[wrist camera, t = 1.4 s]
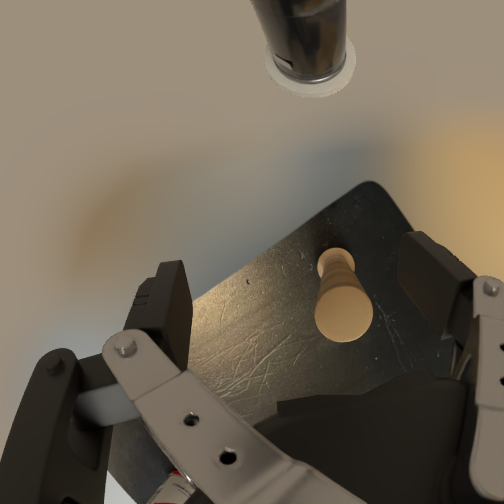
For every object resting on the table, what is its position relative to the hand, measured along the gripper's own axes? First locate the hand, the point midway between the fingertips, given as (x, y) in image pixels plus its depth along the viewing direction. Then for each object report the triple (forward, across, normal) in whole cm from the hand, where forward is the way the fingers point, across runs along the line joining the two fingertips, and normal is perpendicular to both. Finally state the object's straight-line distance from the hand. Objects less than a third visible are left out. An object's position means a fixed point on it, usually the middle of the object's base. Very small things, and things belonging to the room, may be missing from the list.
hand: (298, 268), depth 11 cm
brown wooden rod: (+22, -9, +14) cm, 28 cm away
